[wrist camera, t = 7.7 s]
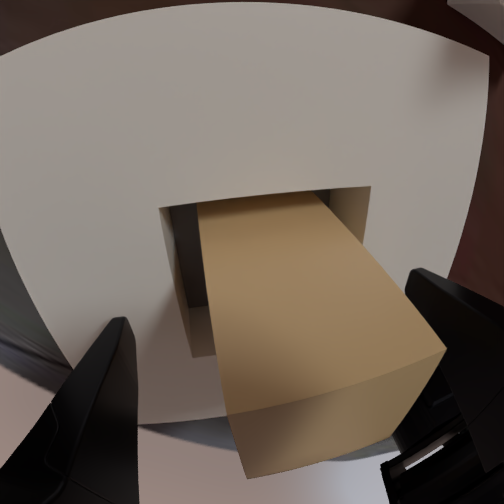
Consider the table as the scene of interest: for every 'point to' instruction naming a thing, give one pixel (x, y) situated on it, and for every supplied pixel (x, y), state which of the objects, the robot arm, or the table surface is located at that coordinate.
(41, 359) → the table surface
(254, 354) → the plug
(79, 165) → the socket plate
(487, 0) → the white angled block
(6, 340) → the table surface
